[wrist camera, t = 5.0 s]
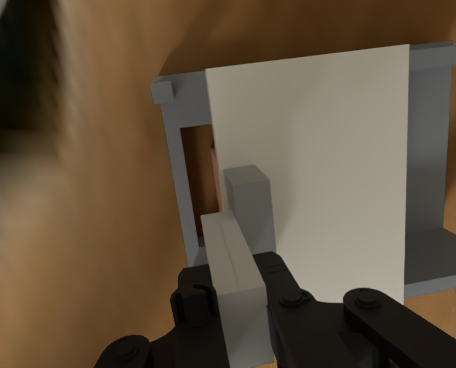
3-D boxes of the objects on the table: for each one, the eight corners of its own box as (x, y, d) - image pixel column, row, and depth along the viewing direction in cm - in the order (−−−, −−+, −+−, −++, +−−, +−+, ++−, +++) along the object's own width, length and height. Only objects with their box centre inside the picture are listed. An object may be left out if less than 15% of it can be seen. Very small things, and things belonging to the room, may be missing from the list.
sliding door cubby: (191, 277, 29) (196, 347, 21) (157, 77, 25) (147, 72, 17) (425, 234, 31) (509, 284, 23) (433, 43, 27) (540, 24, 19)
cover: (240, 339, 21) (253, 391, 18) (204, 69, 17) (212, 64, 13) (395, 307, 22) (438, 351, 18) (399, 45, 18) (456, 35, 14)
